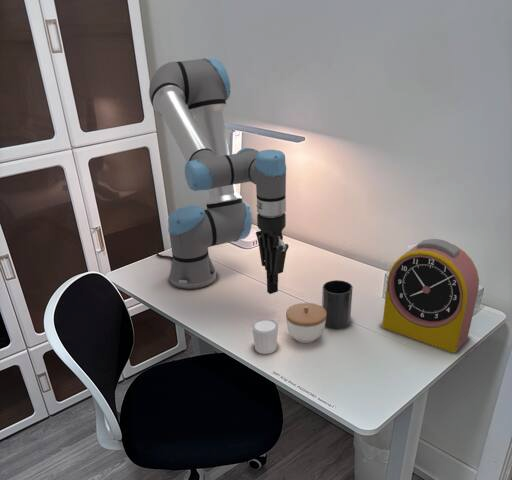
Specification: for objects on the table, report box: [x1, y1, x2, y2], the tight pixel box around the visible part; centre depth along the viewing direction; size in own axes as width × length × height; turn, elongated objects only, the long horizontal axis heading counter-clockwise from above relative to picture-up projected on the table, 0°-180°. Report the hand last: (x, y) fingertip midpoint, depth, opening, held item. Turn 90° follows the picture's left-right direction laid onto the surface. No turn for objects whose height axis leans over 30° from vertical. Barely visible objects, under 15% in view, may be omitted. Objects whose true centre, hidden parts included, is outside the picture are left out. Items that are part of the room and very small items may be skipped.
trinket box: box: [285, 302, 327, 344], centre depth 140 cm, size 11×11×9 cm
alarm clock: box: [381, 238, 480, 353], centre depth 135 cm, size 21×9×26 cm, turn 50°
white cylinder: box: [251, 318, 279, 355], centre depth 137 cm, size 7×7×7 cm
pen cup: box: [321, 279, 354, 330], centre depth 146 cm, size 8×8×11 cm
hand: (272, 291), depth 151 cm, fingers closed
